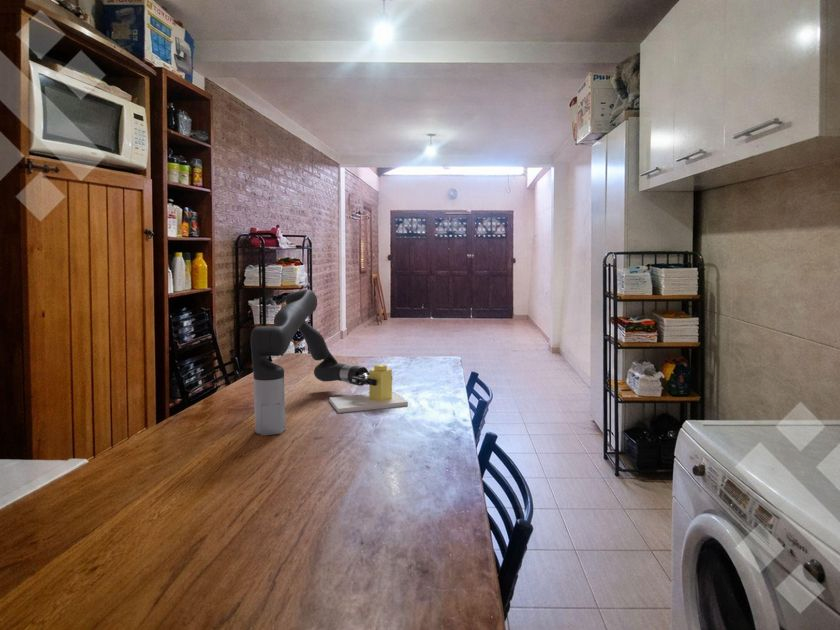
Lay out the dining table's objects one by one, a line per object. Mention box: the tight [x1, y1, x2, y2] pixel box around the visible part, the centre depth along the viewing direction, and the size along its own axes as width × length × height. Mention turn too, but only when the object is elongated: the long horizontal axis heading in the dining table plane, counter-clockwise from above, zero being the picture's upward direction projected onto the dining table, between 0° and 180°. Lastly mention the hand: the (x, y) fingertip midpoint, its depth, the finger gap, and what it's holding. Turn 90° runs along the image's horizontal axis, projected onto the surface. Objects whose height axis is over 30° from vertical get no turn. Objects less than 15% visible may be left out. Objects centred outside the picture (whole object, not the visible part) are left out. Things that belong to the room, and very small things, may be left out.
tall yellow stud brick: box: [368, 363, 393, 401], centre depth 198 cm, size 6×6×13 cm
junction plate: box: [328, 391, 409, 414], centre depth 196 cm, size 16×26×8 cm, turn 111°
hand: (384, 380), depth 197 cm, fingers open, 8 cm apart
